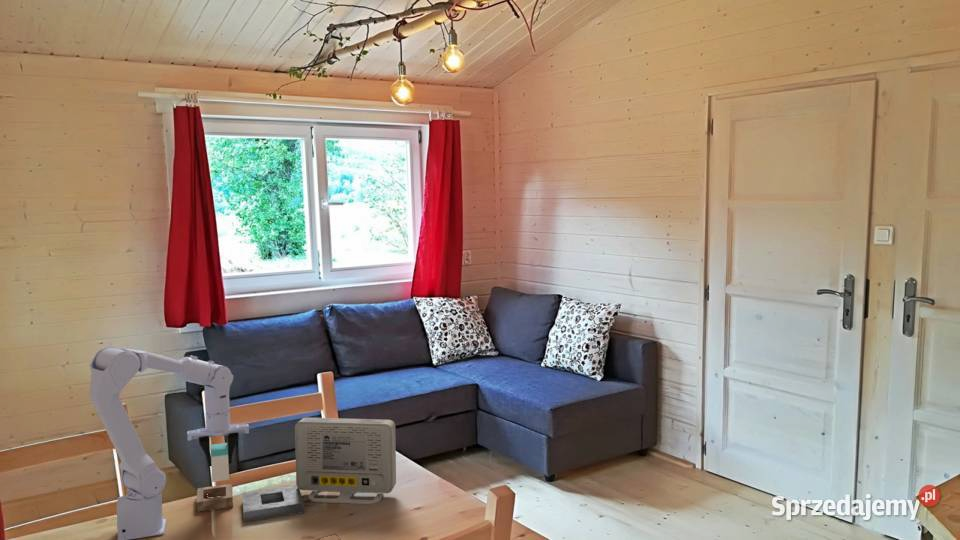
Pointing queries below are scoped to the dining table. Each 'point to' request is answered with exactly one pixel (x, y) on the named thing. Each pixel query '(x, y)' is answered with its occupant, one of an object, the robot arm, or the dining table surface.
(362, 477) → the network device
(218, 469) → the plug
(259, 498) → the port
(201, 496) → the frame
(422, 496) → the dining table surface
